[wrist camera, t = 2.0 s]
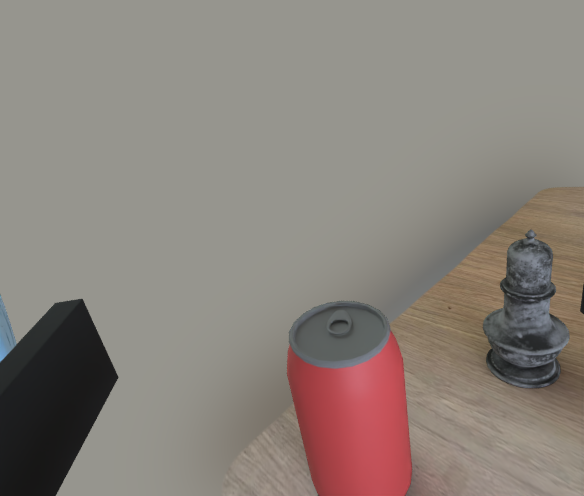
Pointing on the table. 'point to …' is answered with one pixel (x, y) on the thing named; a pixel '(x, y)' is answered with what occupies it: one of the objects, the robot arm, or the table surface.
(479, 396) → the table surface
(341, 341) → the beer can
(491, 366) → the salt shaker
